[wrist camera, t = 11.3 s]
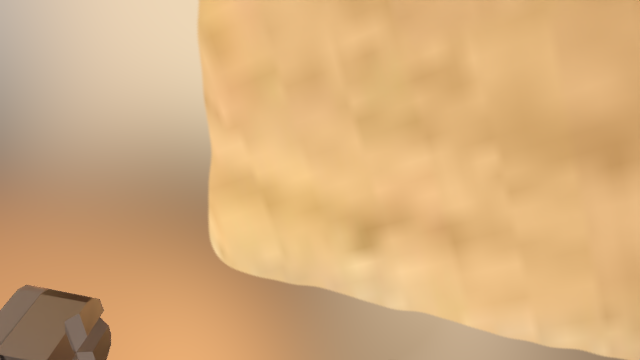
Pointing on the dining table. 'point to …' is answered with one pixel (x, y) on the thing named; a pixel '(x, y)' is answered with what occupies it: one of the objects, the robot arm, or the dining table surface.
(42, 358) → the robot arm
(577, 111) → the dining table surface
